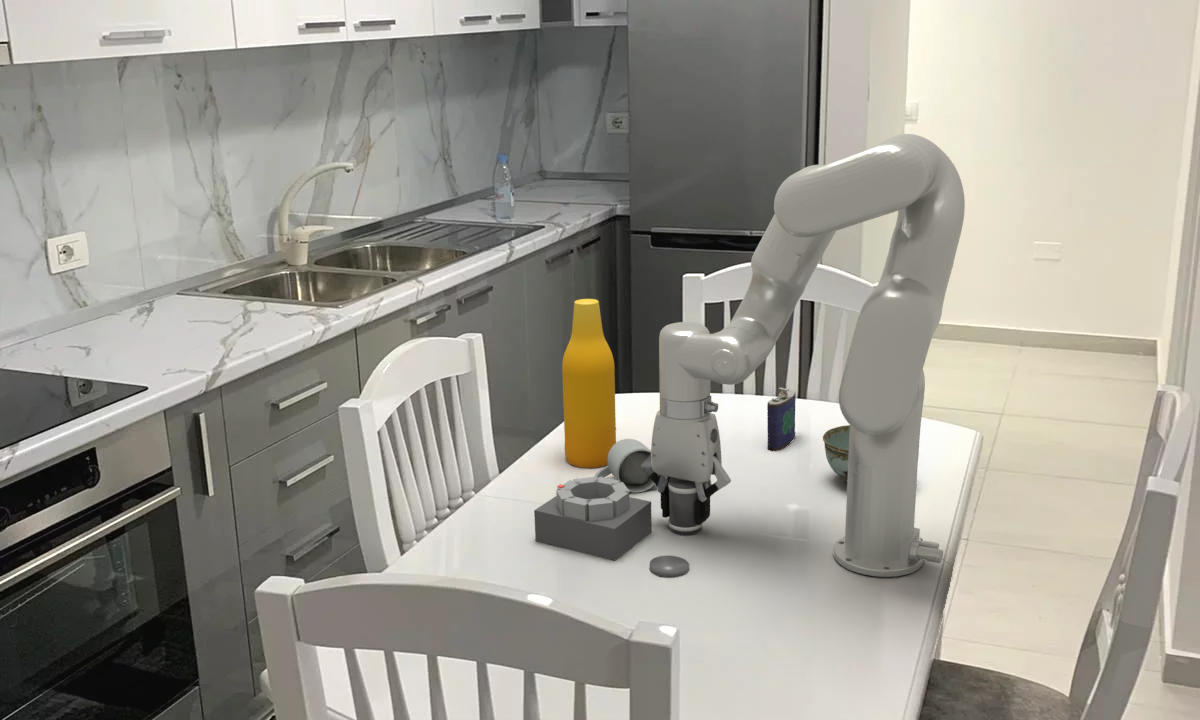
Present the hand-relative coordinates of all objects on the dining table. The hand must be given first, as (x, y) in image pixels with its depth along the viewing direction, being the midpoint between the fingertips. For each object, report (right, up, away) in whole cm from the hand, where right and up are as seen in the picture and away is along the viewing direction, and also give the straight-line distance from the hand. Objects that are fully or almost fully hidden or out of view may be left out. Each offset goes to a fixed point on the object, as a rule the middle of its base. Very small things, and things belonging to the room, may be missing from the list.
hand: (685, 516), depth 176 cm
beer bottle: (-15, +6, +29) cm, 33 cm away
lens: (0, -2, +1) cm, 2 cm away
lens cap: (-3, -6, -12) cm, 14 cm away
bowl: (+31, +3, +16) cm, 35 cm away
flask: (+20, +9, +35) cm, 41 cm away
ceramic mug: (-9, +3, +17) cm, 20 cm away
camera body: (-14, -3, -1) cm, 14 cm away
